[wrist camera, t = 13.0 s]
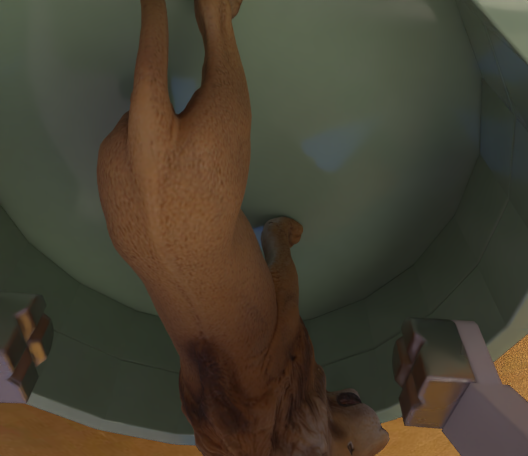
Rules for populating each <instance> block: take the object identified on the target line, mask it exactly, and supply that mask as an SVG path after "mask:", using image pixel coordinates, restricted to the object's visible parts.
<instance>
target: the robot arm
mask: <svg viewBox="0 0 528 456" xmlns="http://www.w3.org/2000/svg"><path fill="white" fill-rule="evenodd" d="M45 308H46V302H45V300H44V297H43V295H39V294H30V293H18V292H7V291H0V402H2V403H27V402H28V400H29V397H30V395H31V393H32V391H33V389H34V386H35V384H36V382H37V380H38V377H39V375H38V372H37V370H36V367H37V366H38V365H39V364H41V363H42V362H43V361H45V360H46V359H47V357H48V355H49V352H50V350H51V347H52V342H53V336H54V330H53V323H52V320H51V318H50V317H49V316H47V315H46V314H45V313H44V310H45ZM401 330H402V334H403V336H402V337H400V338H399V339H397V340H396V342H395V345H394V348H393V355H392V367H393V374H394V379H395V381H396V382H397V383H398V384H399V385H400V387H401V388H402V391H401V393H400V396H399V398H398V399H399V403H400V408H401V412H402V417H403V421H404V426H415V427H427V428H438V429H442V432H443V433H444V434H445V435H446V437H447V438H448V439H449V441H450V442H451V443H452V444H453V446H454V447H455V448H456V450H457V451H458V452H459V453H460V455H461V456H528V402H527V401H526V400H525V399H524V398H523V397H522V396H521V395H520V394H518V393H517V392H516V391H515V390H514V389H513V388H512V387H511V386H510V385H503V384H502V382H501V380H500V378H499V375H498V373H497V370H496V368H495V365H494V363H493V361H492V358H491V356H490V353H489V351H488V349H487V346H486V344H485V341H484V339H483V336H482V334H481V332H480V329H479V327H478V325H477V324H476V323H475V322H474V321H462V320H449V319H433V318H413V317H407V318H406V319H405V320H404V322H403V324H402V326H401Z"/></svg>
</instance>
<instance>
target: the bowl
mask: <svg viewBox="0 0 528 456" xmlns="http://www.w3.org/2000/svg"><path fill="white" fill-rule="evenodd" d="M165 2H166V9H167V18H168V32H169V49H168V72H167V78H168V93H169V99H170V102H171V103H172V105H173V108H174V110H175V113H176V114H179V113H181V112H182V111H183V110H184V109H185V107H186V105H187V104H188V102H189V100H190V99H191V97H192V96H193V94H194V92H195V91H196V90H197V89H199V88H200V86H201V81H202V67H203V63H204V57H205V50H204V44H203V39H202V35H201V33H200V31H199V28H198V25H197V21H196V18H195V12H194V0H165ZM232 26H233V30H234V35H235V40H236V44H237V48H238V51H239V55H240V59H241V62H242V66H243V69H244V72H245V76H246V81H247V86H248V91H249V98H250V105H251V114H252V119H251V132H250V141H251V157H250V165H249V172H248V179H247V184H246V189H245V194H244V198H243V201H242V204H241V207H240V208H241V210H242V211H243V213H244V214H245V216H246V218H247V219H248V221H249V222H250V224H251V227H252V229H253V231H254V233H255V235H256V238H257V240H258V243H259V246H260V249H261V252H262V255H263V257H264V259H265V255H264V252H263V249H262V245H261V234H262V231H263V228H264V225H265V223H266V222H267V221H268V220H270V219H273V218H277V217H281V216H284V217H288V218H291V219H294V220H295V221H297V222H298V223H300V224H301V225H302V226H303V233H302V234H301V238H300V241H299V242H298V243H297V244H294V245H293V246H292V247H291V248H290V252H291V257H292V259H293V262H294V264H295V267H296V271H297V275H298V285H299V315H300V316H301V318H302V320H303V322H304V324H305V327H306V329H307V331H308V334H309V336H310V339H311V342H312V345H313V348H314V355H315V361H316V363H317V364H319V365H320V366H321V367H322V368H323V370H324V373H325V376H326V390H327V391H329V392H334V391H340V390H343V389H348V388H351V389H354V390H356V391H357V392H358V394H359V397H360V399H361V402H362V403H364V404H366V405H368V406H369V407H370V408H372V409H373V410H374V411H375V412H376V414H377V416H378V418H379V421H380V424H381V423H384V422H388V421H391V420H395V419H397V418H400V417H402V412H401V408H400V403H399V399H398V398H399V396H400V393H401V391H402V388H401V387H400V385H399V384H398V383H397V382H396V381H395V379H394V374H393V367H392V355H393V348H394V345H395V342H396V340H397V339H399V338H400V337H402V336H403V334H402V330H401V326H402V324H403V322H404V320H405V319H406V318H407V317H413V318H433V319H449V320H462V321H474V322H475V323H476V324H477V325H478V327H479V329H480V332H481V334H482V336H483V339H484V341H485V344H486V346H487V349H488V351H489V353H490V356H491V358H492V361H493V363H494V362H495V361H496V360H497V359H498V358H500V357H501V356H502V355H503V354H504V353H506V352H507V351H508V350H509V349H510V348H512V347H513V346H514V345H515V344H516V343H518V342H519V341H520V340H521V339H522V338H524V337H525V336H526V335H527V334H528V0H243V1H242V3H241V6H240V9H239V12H238V14H237V15H236V16H235V17H234V18H233V19H232ZM140 32H141V2H140V0H0V291H7V292H18V293H30V294H39V295H43V297H44V300H45V302H46V308H45V310H44V313H45V314H46V315H47V316H49V317H50V318H51V320H52V323H53V330H54V336H53V342H52V347H51V350H50V352H49V355H48V357H47V359H46V360H45V361H43V362H42V363H41V364H39V365H38V366H37V367H36V370H37V372H38V375H39V377H38V380H37V382H36V384H35V386H34V389H33V391H32V393H31V395H30V397H29V400H28V402H27V403H25V404H28V405H31V406H34V407H36V408H39V409H42V410H45V411H47V412H50V413H53V414H56V415H58V416H61V417H64V418H67V419H69V420H72V421H75V422H78V423H80V424H83V425H86V426H89V427H91V428H94V429H98V430H102V431H107V432H113V433H118V434H123V435H128V436H133V437H138V438H143V439H149V440H154V441H159V442H164V443H169V444H174V443H175V444H176V445H195V437H194V429H193V427H192V425H191V424H190V423H189V422H188V420H187V418H186V416H185V415H184V413H183V412H182V409H181V405H182V403H181V400H180V393H179V372H180V367H181V365H180V356H179V354H178V352H177V350H176V348H175V347H174V344H173V342H172V340H171V338H170V336H169V334H168V333H167V331H166V329H165V327H164V325H163V323H162V321H161V319H160V317H159V315H158V313H157V311H156V309H155V307H154V304H153V302H152V300H151V297H150V296H149V294H148V292H147V290H146V287H145V285H144V283H143V282H142V280H141V279H140V278H139V277H138V275H137V274H136V273H135V272H134V270H133V269H132V268H131V267H130V266H129V265H128V263H127V262H126V261H125V260H124V259H123V258H122V257H121V256H120V254H119V253H118V252H117V251H116V249H115V247H114V246H113V243H112V241H111V238H110V236H109V233H108V229H107V224H106V219H105V216H104V213H103V210H102V206H101V202H100V197H99V191H98V185H97V161H98V151H99V148H100V144H101V143H102V141H103V140H104V139H105V138H106V137H107V136H108V134H109V133H110V132H111V131H112V130H113V129H114V128H115V126H116V125H117V123H118V122H119V120H120V119H121V117H122V116H123V115H124V113H126V112H127V111H129V110H130V104H131V102H130V97H131V93H132V91H133V84H134V72H135V65H136V59H137V53H138V49H139V40H140Z"/></svg>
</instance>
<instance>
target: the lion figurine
mask: <svg viewBox="0 0 528 456" xmlns="http://www.w3.org/2000/svg"><path fill="white" fill-rule="evenodd" d="M242 1H243V0H194V12H195V18H196V21H197V25H198V28H199V31H200V33H201V35H202V39H203V44H204V50H205V57H204V63H203V67H202V81H201V86H200V88H199V89H197V90H196V91H195V92H194V94H193V96H192V97H191V99H190V100H189V102H188V104H187V105H186V107H185V109H184V110H183V111H182V112H181V113H179V114H176V113H175V110H174V108H173V105H172V103H171V102H170V99H169V93H168V78H167V72H168V49H169V32H168V18H167V9H166V2H165V0H140V2H141V32H140V40H139V49H138V53H137V59H136V65H135V72H134V84H133V91H132V93H131V97H130V102H131V104H130V110H129V111H127V112H126V113H124V115H123V116H122V117H121V119H120V120H119V122H118V123H117V125H116V126H115V128H114V129H113V130H112V131H111V132H110V133H109V134H108V136H107V137H106V138H105V139H104V140H103V141H102V143H101V144H100V148H99V151H98V161H97V185H98V191H99V197H100V202H101V206H102V210H103V213H104V216H105V219H106V224H107V229H108V233H109V236H110V238H111V241H112V243H113V246H114V247H115V249H116V251H117V252H118V253H119V254H120V256H121V257H122V258H123V259H124V260H125V261H126V262H127V263H128V265H129V266H130V267H131V268H132V269H133V270H134V272H135V273H136V274H137V275H138V277H139V278H140V279H141V280H142V282H143V283H144V285H145V287H146V290H147V292H148V294H149V296H150V297H151V300H152V302H153V304H154V307H155V309H156V311H157V313H158V315H159V317H160V319H161V321H162V323H163V325H164V327H165V329H166V331H167V333H168V334H169V336H170V338H171V340H172V342H173V344H174V347H175V348H176V350H177V352H178V354H179V356H180V365H181V367H180V372H179V393H180V400H181V403H182V405H181V409H182V412H183V413H184V415H185V416H186V418H187V420H188V422H189V423H190V424H191V425H192V427H193V429H194V437H195V445H196V446H197V448H198V449H199V451H201V452H202V454H203V455H204V456H374V455H376V454H377V453H378V452H380V451H381V450H382V449H383V448H384V447H385V446H386V445H387V443H388V441H389V435H388V433H387V431H386V430H385V429H383V428H382V426H381V424H380V421H379V418H378V416H377V414H376V412H375V411H374V410H373V409H372V408H370V407H369V406H368V405H366V404H364V403H362V402H361V399H360V397H359V394H358V392H357V391H356V390H354V389H351V388H348V389H343V390H340V391H334V392H329V391H327V390H326V376H325V373H324V370H323V368H322V367H321V366H320V365H319V364H317V363H316V361H315V355H314V348H313V345H312V342H311V339H310V336H309V334H308V331H307V329H306V327H305V324H304V322H303V320H302V318H301V316H300V315H299V285H298V275H297V271H296V267H295V264H294V262H293V259H292V257H291V252H290V248H291V247H292V246H293V245H294V244H297V243H298V242H299V241H300V238H301V234H302V233H303V226H302V225H301V224H300V223H298V222H297V221H295V220H294V219H291V218H288V217H284V216H281V217H277V218H273V219H270V220H268V221H267V222H266V223H265V225H264V228H263V231H262V234H261V245H262V249H263V252H264V255H265V259H264V257H263V255H262V252H261V249H260V246H259V243H258V240H257V238H256V235H255V233H254V231H253V229H252V227H251V224H250V222H249V221H248V219H247V218H246V216H245V214H244V213H243V211H242V210H241V208H240V207H241V204H242V201H243V198H244V194H245V189H246V184H247V179H248V172H249V165H250V157H251V141H250V132H251V119H252V114H251V105H250V98H249V91H248V86H247V81H246V76H245V72H244V69H243V66H242V62H241V59H240V55H239V51H238V48H237V44H236V40H235V35H234V30H233V26H232V19H233V18H234V17H235V16H236V15H237V14H238V12H239V9H240V6H241V3H242Z"/></svg>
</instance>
